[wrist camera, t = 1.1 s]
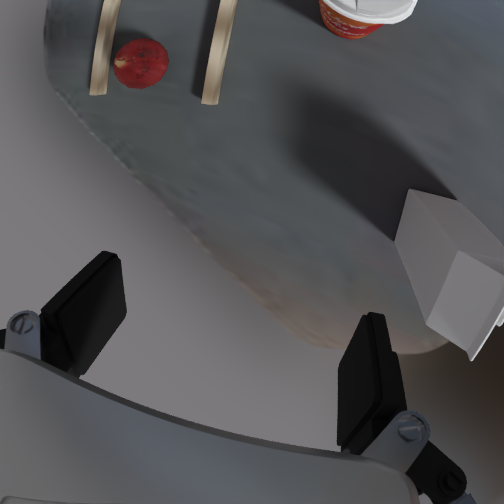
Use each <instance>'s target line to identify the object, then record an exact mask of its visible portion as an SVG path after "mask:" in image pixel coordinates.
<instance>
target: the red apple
mask: <svg viewBox="0 0 504 504" xmlns="http://www.w3.org/2000/svg"><path fill="white" fill-rule="evenodd" d="M168 63H169V59H168V54H167V51H166V49H165V48H164V47H163V46H162V45H161V44H160V43H159V42H157V41H154V40H152V39H147V38H145V39H135V40H133V41H131V42H129V43H127V44H125V45H124V46H123V47H122V48H121V49H120V50H119V51H118V52H117V54H116V57H115V59H114V72H115V75H116V77H117V78H118V79H119V81H120V82H121V83H122V84H124V85H126V86H127V87H129V88H138V89H143V88H146V87H148V86H151V85H154V84H155V83H157V82H158V81H159V80H161V78H162V77H163V75H164V74H165V72H166V70H167V66H168Z"/></svg>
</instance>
